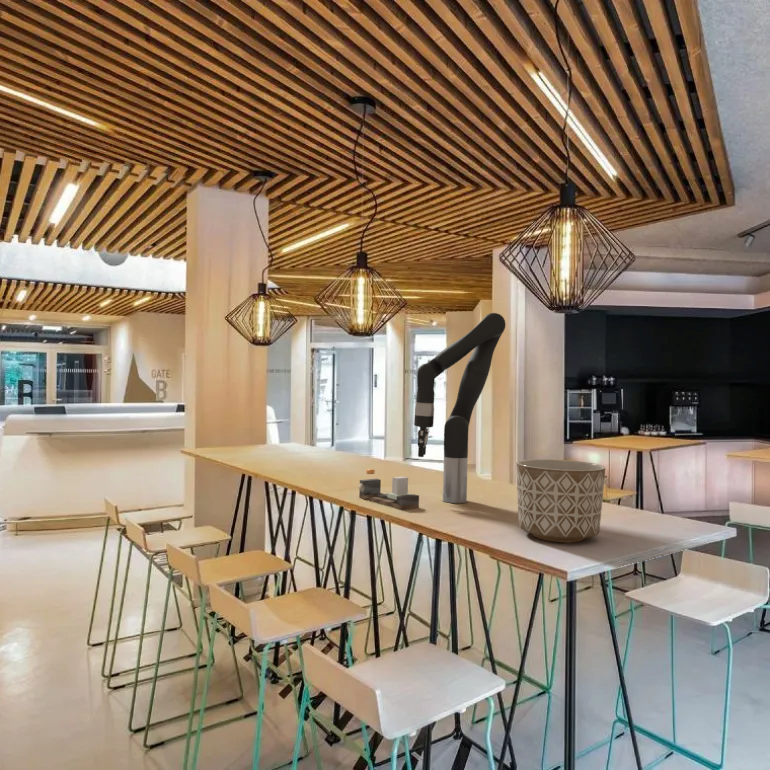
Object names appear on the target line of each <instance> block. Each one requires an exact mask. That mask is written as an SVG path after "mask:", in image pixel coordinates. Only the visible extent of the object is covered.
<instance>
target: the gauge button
mask: <svg viewBox="0 0 770 770" xmlns="http://www.w3.org/2000/svg"><path fill="white" fill-rule="evenodd" d="M375 471H376V470H375V469H373V468H367V469H366V472H365V473H366V475H375V473H376V472H375Z"/></svg>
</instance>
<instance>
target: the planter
mask: <svg viewBox="0 0 770 770" xmlns="http://www.w3.org/2000/svg"><path fill="white" fill-rule="evenodd" d="M605 476H606V466H604V465H602V464H598V463H593V462H586V461H580V460H568V459H551V458H550V459H549V458H547V459H546V458H545V459H544V458H540V459H539V458H535V459H533V458H532V459H521V460H517V461H516V484H517V485H516V487H517V512H518V526H519V528H520V529H521V530H523V531H525V532H527V533H529V534H532V535H533V537H535V538H537V539H539V540H543V541H548V542H555V543H556V542H557V543H579V542H582V541H584V539H590V538H592V537H596V536H598V534H600V531H601V530H600V529H601V519H602V508H603V499H604V497H603V496H604V486H605V478H606V477H605Z"/></svg>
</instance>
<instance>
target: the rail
mask: <svg viewBox="0 0 770 770" xmlns="http://www.w3.org/2000/svg"><path fill="white" fill-rule="evenodd" d="M381 486H382V485H381V479H379V478H367V479H359V485H358V491H359V496H358V497H359V499H362V500H366V501H369V502H372V503H376V504H380V505H382V506H386V507H390V508H393V509H397V510H401V511H404V510H412V509H418V508H419V507H420V495H419V494H415V493H413V494H412V493H411V494H412V495H402V496H397V500H395V499H392V498H388V497H387V494H386V493H382V492H381Z"/></svg>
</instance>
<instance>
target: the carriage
mask: <svg viewBox="0 0 770 770" xmlns="http://www.w3.org/2000/svg"><path fill="white" fill-rule="evenodd" d="M391 483H392V484H391V492H387V497H388V498H392V499H395V500H397V496H402V495H412V493H409V492H408V491H409V477H406V476H394V477H392V481H391Z"/></svg>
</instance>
